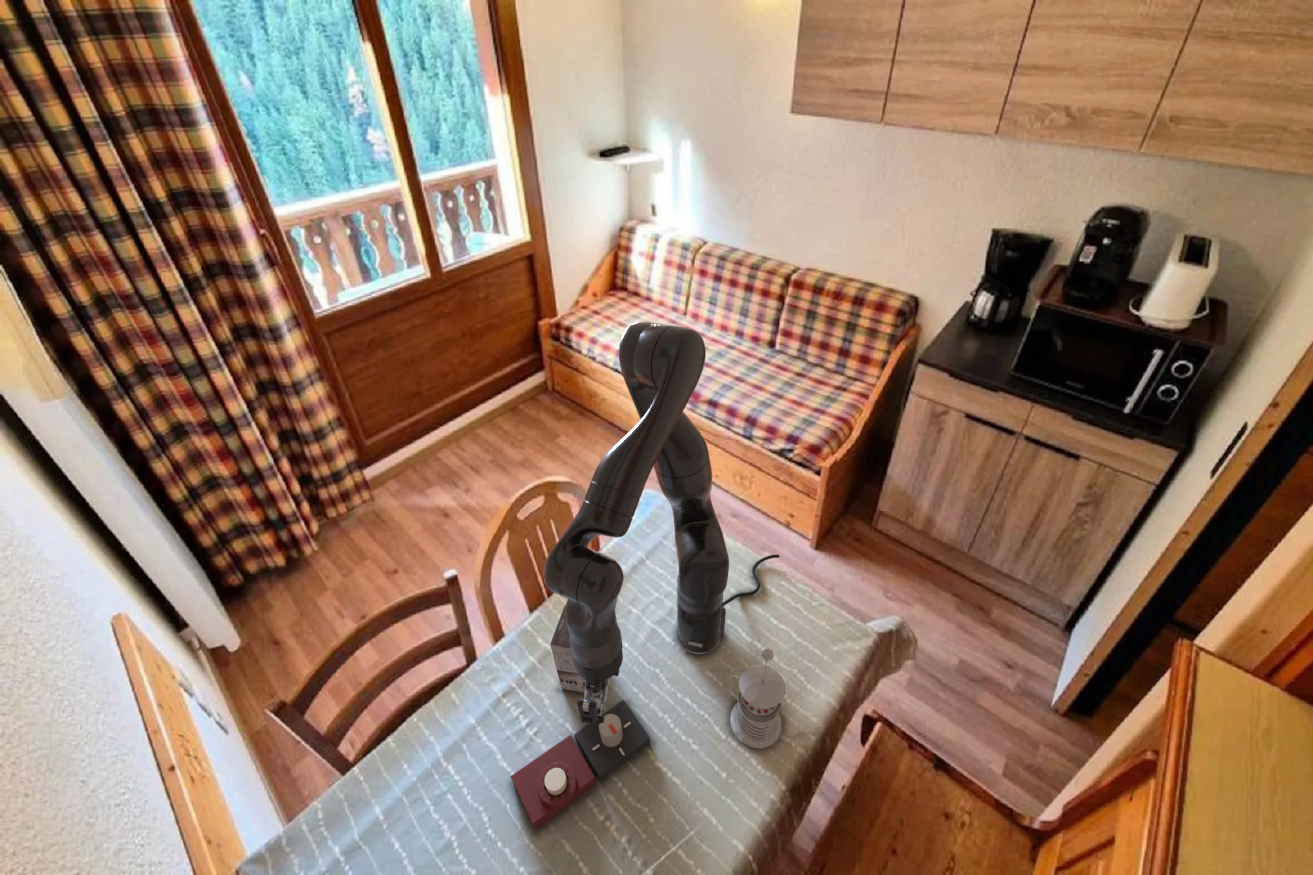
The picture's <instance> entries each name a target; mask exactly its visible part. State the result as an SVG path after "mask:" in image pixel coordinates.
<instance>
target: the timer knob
mask: <svg viewBox="0 0 1313 875" xmlns="http://www.w3.org/2000/svg"><path fill="white" fill-rule="evenodd" d="M604 718H605V719H604V722H603V723H600V725H599V730H600V735H601V740H602V742H603V744H604V745H606V746H608V747H615V746H617V745H618V744H619V743H620V742H621V740H622V737H623V734H622V727H621V721H620V719H619V718H618V717H617V716H616V715H614V714H608V715H605V716H604Z"/></svg>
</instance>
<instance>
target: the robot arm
mask: <svg viewBox="0 0 1313 875" xmlns="http://www.w3.org/2000/svg"><path fill="white" fill-rule="evenodd" d="M618 347H619V348H618V356H619V357H618V360H619V361H618V362H619V367H620V372H621V374H622V378H623V381H624V383H625V385H626V388H627V391H628V392H629V395H630V397H631V400H632V403H633V405H634V407H635V410H636V412H637V415H638V417H639V420H638V422H636V424H634V426H633V427H632V428H631V429H630V430H629V431H628V432H627V433H626V434H625V435H624V436H622V437H621V439H619V440H618V441H617V442H616V443H615V444H614V445H613V446H612V447H611V448H609V450H608V451H607V452H606V453H605V455H604V456H603V457H602V458H601V460H600V462H598V465H597V467H596V468H595V470H594V473H593V475H592V478H591V480H590V482H589V485H588V488H587V491H586V493H585V496H584V499H583V501H582V503H581V506H580V508H579V510H578V512H577V513H576V514H575V517H574V518H573V520H572V521H571V523H570V524H569V526H568V527H567V529H566V530H565V531H564V532H563V534H562V535H561V537H559V539H558V541H557V542H556V543H555V545H554V546H553V548H552V549H551V551H550V552H549V553H548V555H547V557H546V559H545V563H544V565H543V571H542V572H543V574H542V575H543V582H544V584H545V587H547V589H548V590H549V591H551V592H552V593H554V594H556V595H558V596H560V597H562V598H565V599H567V600H566V603H565V605H566V606H565V605H564V606H565V616H566V622H567V626H568V630H569V642H570V647H571V651H572V655H573V660H574V664H575V668H576V670H577V672H578V673H579V674H580V675H581V676H582V677H583V678H584V680H585V692H584V693H583V697H582V698H581V697H580V698H579V700H577V709H578V714H579V719H580V722H581V723H583V724H587V725H588V724H592V725H595V726H597V724H599V725H600V723H603V722H604V719H605V718H604V713H605V712H604V709H603V708H604V704H605V702H606V700H607V699H608V693H609V692H608V691H609V685H610V684H611V682H612V681H611V679H612V678H613V676H614V677H615V676H616V677H619V674H620V668H621V667H622V664H623V661H624V660H623V658H624V654H623V638H622V632H621V628H620V627H619V624H618V622H617V614H616V613H617V612H616V606H617V602H618V598H619V595H620V593H621V590H622V588H623V585H624V579H625V574H624V570H623V569H622V567H621V565H620V564H619V562H618V561H617V560H616V559H614V558H612V556H609V555H606V554H604V553H601V552H599V551H597V550H594V549H592V548H590V547H588V546H589V544H590V543H591V542H592V541H593V540H594V538H596V537H598V536H604V537H610V538H622V537H624V536H626V534H627V533H628V531H629V529H630V526H631V524H632V521H633V518H634V516H635V514H636V511H637V508H638V505H639V503H640V500H641V497H642V494H643V491H644V489H645V487H646V484H647V482H648V479H649V477H650V474H651V472H652V470H654V473H655V476H656V480H657V483H658V486H659V489H660V492H661V493H662V495H663V496H664V498H665V499H666V500H667V502H668V503H669V504H670V507H671V511H672V518H673V528H674V543H675V544H674V545H675V549H676V550H675V551H676V557H677V564H678V574H677V577H676V617H677V618H676V619H677V620H676V622H677V624H676V627H677V629H676V639H677V642H678V644H679V646H680V648H682V649H683V651H685V652H686V653H688V654H690V655H693V656H697V657H698V656H700V657H701V656H706V655H709V654H711V653H712V652H713V651H715V650H716V649H717V648H718V647H719V644H720V642H721V639H723V638H724V637H725V626H726V615H727V614H726V612H727V610H726V608H725V606H726V605H728V604H729V603H731V602H732V601H734V600H735V599H737V598H740V597H748V596H752V595H756V594H757V593H758V592H759V591H760V588H761V582H760V579H759V577H758V575H757V574H756V569H757V567H758V566H759V565H760V564H762V563H763V562H766V561H767V560H771V559H779V558H780V557H781V555H779V554H769V555H767V556H764V557H762V558H760V559H758V560H756V562H755V563H754V564H753V566H752V567H751V574H752V577H753V579H754V580H755V583H756V587H755V589H753V590H751V591H750V590H749V591H746V592H745V591H744V592H739V593H736V594H733V595H732V596H730V597H728V598H727V599H726V600H724V592H725V590H726V588H727V585H728V579H729V572H730V557H729V551H728V549H727V544H726V540H725V537H724V533H723V529H722V527H721V525H720V524H721V523H720V522H719V519H718V517H717V514H716V511H715V508H714V506H713V501H712V496H711V493H712V489H713V470H712V464H711V458H710V453H709V452H710V451H709V449H708V446H707V445H708V444H707V441H706V440H705V438H704V436H703V435H702V433H701V432H700V430H699V429H698V427H697V426H696V425H695V424H694V422H692V420H691V419H690V417H689V416H688V415H687V414H686V413H685V412H684V411H685V409H686V407H687V405H688V403H689V401H690V399H691V397H692V396H693V394H694V392H695V390H696V388H697V386H698V383H699V381H700V379H701V376H702V373H703V371H704V367H705V362H706V356H707V355H706V354H707V350H706V344H705V340H704V338H703V336H702V335H701V334H700V332H698V331H697V330H696V329H693V328H689V327H687V326H686V327H685V326H679V325H673V324H666V323H659V322H653V321H635V322H632V324H630V325H628V326H627V327H626V328H625V330H624V331H623V333H622V335H621V339H620V341H619V346H618ZM600 692H602V693H600Z"/></svg>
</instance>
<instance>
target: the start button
mask: <svg viewBox="0 0 1313 875" xmlns="http://www.w3.org/2000/svg"><path fill="white" fill-rule="evenodd" d="M545 786H546V789H547V791H548V792H549V793H550V794H551V795H560V794H561V793H563V792H564V790H565V789H566V787H567V778H566V775H565V772H564V771H563V770H562V769H560V768H553V769H551V770H550V771H549V772H548V773H547V774H546V776H545Z"/></svg>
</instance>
